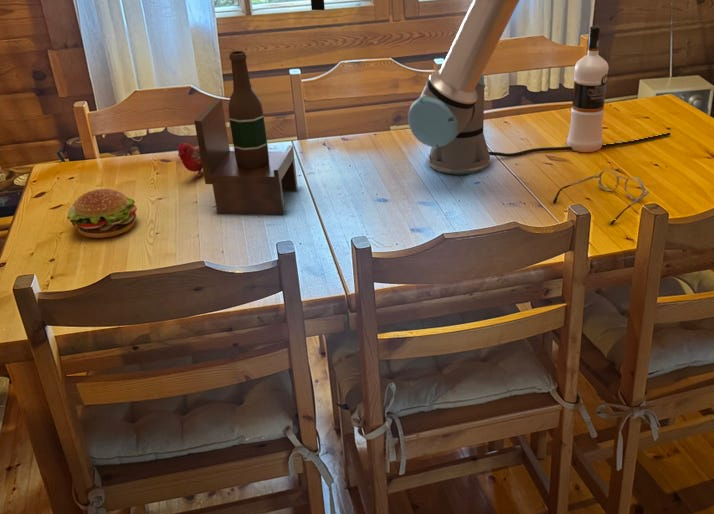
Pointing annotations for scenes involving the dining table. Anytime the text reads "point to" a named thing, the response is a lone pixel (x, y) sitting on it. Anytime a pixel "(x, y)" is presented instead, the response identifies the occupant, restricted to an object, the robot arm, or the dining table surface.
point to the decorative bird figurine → (190, 158)
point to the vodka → (588, 98)
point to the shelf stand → (241, 170)
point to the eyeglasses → (610, 190)
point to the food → (103, 213)
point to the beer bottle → (246, 118)
